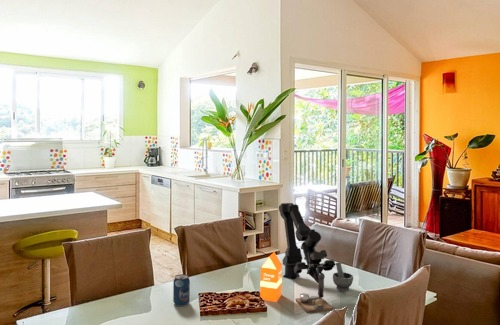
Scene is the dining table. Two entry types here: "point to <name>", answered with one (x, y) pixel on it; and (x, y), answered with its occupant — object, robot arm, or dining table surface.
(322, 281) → the lever
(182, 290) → the soda can
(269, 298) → the orange juice
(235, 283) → the dining table surface
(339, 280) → the mortar and pestle
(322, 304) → the base
